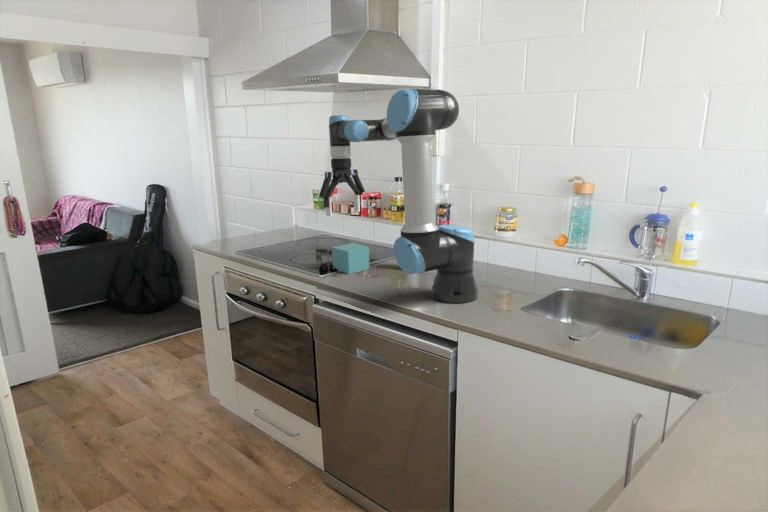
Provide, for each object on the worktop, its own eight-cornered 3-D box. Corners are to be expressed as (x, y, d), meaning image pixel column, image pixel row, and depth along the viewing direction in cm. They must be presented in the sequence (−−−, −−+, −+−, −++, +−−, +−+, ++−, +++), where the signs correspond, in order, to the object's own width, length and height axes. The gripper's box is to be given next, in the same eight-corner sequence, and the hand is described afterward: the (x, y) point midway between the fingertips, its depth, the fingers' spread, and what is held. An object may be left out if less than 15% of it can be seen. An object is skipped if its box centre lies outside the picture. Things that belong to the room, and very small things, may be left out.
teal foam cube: (369, 268, 203) (368, 247, 201) (348, 274, 197) (348, 251, 194) (352, 264, 211) (352, 242, 208) (332, 269, 204) (331, 247, 202)
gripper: (360, 155, 206) (362, 208, 211) (307, 159, 190) (311, 216, 195) (372, 156, 201) (374, 210, 206) (319, 160, 185) (322, 219, 190)
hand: (343, 213), depth 200 cm, fingers open, 13 cm apart
